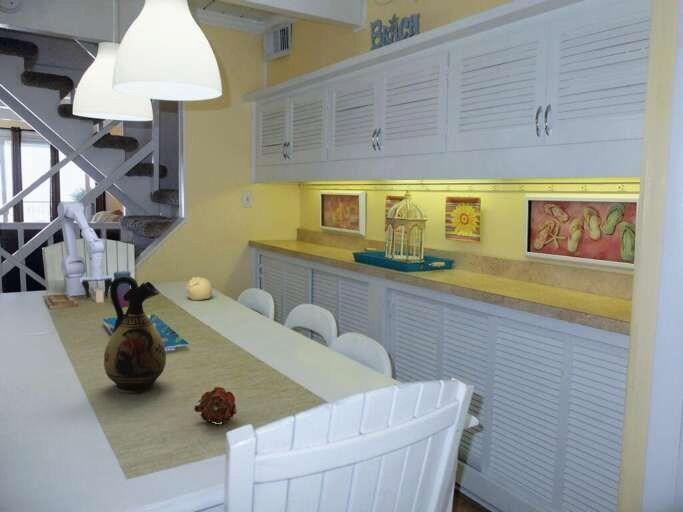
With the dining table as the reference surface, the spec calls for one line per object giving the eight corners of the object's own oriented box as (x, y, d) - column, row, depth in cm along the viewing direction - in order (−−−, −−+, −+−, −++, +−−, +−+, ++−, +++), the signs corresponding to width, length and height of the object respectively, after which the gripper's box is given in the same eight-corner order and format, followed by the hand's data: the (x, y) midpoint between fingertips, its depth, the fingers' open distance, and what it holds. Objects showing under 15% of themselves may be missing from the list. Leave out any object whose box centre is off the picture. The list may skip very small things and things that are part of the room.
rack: (45, 300, 245) (44, 295, 245) (72, 298, 252) (71, 293, 251) (50, 308, 231) (49, 303, 230) (78, 306, 237) (78, 300, 236)
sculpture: (185, 297, 261) (185, 275, 260) (211, 296, 265) (211, 274, 263) (186, 302, 250) (186, 279, 249) (213, 301, 254) (213, 278, 252)
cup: (114, 305, 241) (113, 271, 239) (130, 304, 244) (130, 270, 242) (115, 308, 235) (114, 273, 233) (132, 307, 237) (131, 273, 236)
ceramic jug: (173, 377, 153) (171, 272, 149) (156, 398, 138) (154, 282, 134) (112, 376, 153) (108, 271, 149) (88, 398, 137) (84, 280, 134)
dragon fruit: (223, 440, 120) (206, 426, 130) (251, 411, 124) (233, 400, 134) (199, 413, 117) (184, 401, 128) (228, 384, 121) (211, 375, 131)
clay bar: (91, 298, 255) (91, 287, 254) (98, 297, 256) (97, 287, 256) (96, 302, 245) (96, 292, 244) (103, 302, 247) (103, 291, 246)
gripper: (80, 269, 241) (81, 299, 243) (115, 267, 250) (115, 296, 251) (77, 267, 247) (78, 296, 249) (111, 265, 255) (112, 294, 257)
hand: (97, 296), depth 251 cm, fingers open, 7 cm apart
